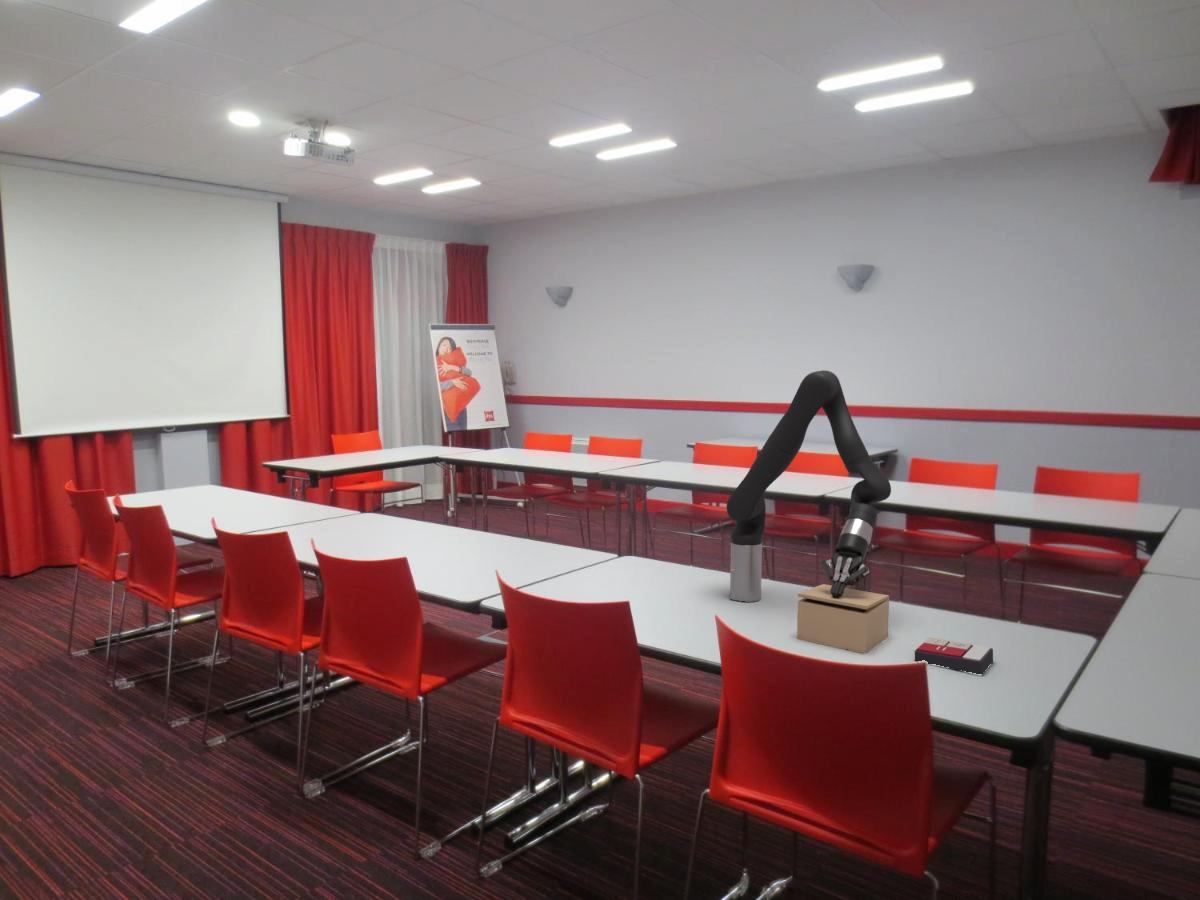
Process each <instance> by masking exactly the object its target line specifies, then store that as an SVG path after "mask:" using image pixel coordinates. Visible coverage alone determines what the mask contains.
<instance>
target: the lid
mask: <svg viewBox="0 0 1200 900" xmlns="http://www.w3.org/2000/svg"><path fill="white" fill-rule="evenodd" d="M831 587H832V584H831V585H830V584H824V583H822V584H820V585H817V586H814V587H812V588H809V589H806V590H803V591H801V592H799V593H797V597H799V598H802V599H803V598H808V599H814V600H819V601H824V602H829V603H835V604H840V605H845V606H851V607H856V608H861V609H866V610H867V609H869V608H871V607H873V606H875V605H877V604H879V603H881V602H883V601H885V600H887V599H889V600H890V595H888V594H881V593H876V592H870V591H866V590H859V589H854V588H848V587H845V589H844V592H843V595H842V596H841V597H840V598H834V597H833V596H832V594H831V592H830V590H831Z"/></svg>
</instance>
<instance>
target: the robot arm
mask: <svg viewBox="0 0 1200 900" xmlns="http://www.w3.org/2000/svg"><path fill="white" fill-rule="evenodd" d="M821 408H822V409H823V411H824V413H825V415H826V417H827V419H828V421H829V424H830V428H831V432H832V436H833V441H834V445H835V447H836V451H837V452H838V453H837V454H839V457H840V459H841V461H842V463H843V464H844V467H845V468H846V471H847V472H848V473H849V474H851V475H854V474H855V475H859V476H860V477H862V480H860V481H858V482H857V483H855V484H854V486H853V488H852V490H851V494H850V509H849V510H850V511H849V514H848V517H847V519H846V522H845V524H844V525H843V527H842V530H841V533H840V535H839V538H838V541H837V544H836V547H835V550H834V553H833V554H832V555H831V556H830V557H831V558H829V559H828V560H825V559H821V562H820V563H821V565H822V567H823V569H824V571H825V574H826V576H827V578H828V580H829V582H830V583H832V584H831V586H832V587H831V590H830V592H831V594H832V596H833V597H834V598H840V597H841V596H842V595H843V592H844V589H845V588H847V586H851V587H852V586H853V587H854V586H855V585H856V584H857V583H859V582H861V581H862V580H863V579H864V578H867V577H868V576H869V575H870V574H871V572H870V569H869V567H868V566H867V565H865V557H866V554H867V552H868V549H869V545H870V544H871V541H872V535H873V530H874V528H875V524H876V522H877V517H878V512H877V510H876V508H875V507H874V506H873V505H874V504H876V503H877V504H878V503H880V502H883V501H886V500H887V499H889V498H890V496H891V494H892V486H891V483H890V481H889V478H888V477H887V476H886V475H885V474H884V472H883V471H882V470H881V469H880V468H879V466H878V465H877V464H876V463H875V462H874V460H873V459H872V458H871V456H870V455H869V453H868V450H867V448H866V446H865V444H864V442H863V440H862V438H861V436H860V434H859V432H858V430H857V428H856V425H855V423H854V421H853V420H854V419H853V418H852V416H851V413H850V410H849V407H848V404H847V402H846V398H845V395H844V392H843V387H842V384H841V382H840V379H839V377H838V376H837V375H836V374H835V373H834V372H832V371H830V370H817V371H813V372H810V373H808V374H807V375H805V377H804V378H803V379H802V381H801V382H800V384H799V386H798V388H797V391H796V393H795V395H794V397H793V399H792V401H791V403H790V405H789V406H788V408H787V410H786V411H785V413H784V414H783V416H782V417H781V419H780V420H779V422H778V423H777V424H776V426H775V428H774V429H773V431H771V433H770V435H768V439H767V440H766V442H765V443H764V445H763V447H762V448H761V450H760V452H759V454H757V456H756V458H755V460H754V461H753V464H751V467H750V468H749V470H748V472H747V473H746V475H745V477H744V478H743V479H742V480H741V482H740V483H739V484H738V485H737V487H736V488H735V489H734V490H733V492H732V493H731V494H730V495H729V497H728V499H727V502H726V512H727V516H729V518H730V519H731V520H733V521H734V522H736V525H735V526H734V529H733V530H732V532H731V534H730V566H729V568H730V569H729V570H730V573H729V574H730V575H729V576H730V583H729V587H730V590H729V591H730V592H729V593H730V594H729V596H730V599H732V601H737V600H738V602H742V601H745V602H744V603H749V602H751V603H752V602H757V601H760V600H761V599H762V562H763V561H762V557H763V553H762V550H763V549H762V548H763V547H762V546H763V536H764V533H765V530H766V529H765V528H766V527H765V526H766V513H767V511H766V507H767V506H766V501H765V498H764V494H765V492H766V491H767V490H768V488H769V487H770V486H771V485H772V484H773V483H774V482H775V481H776V480H777V479H778V478H779V477H781V476H782V474H783V473H785V471H787V469H788V468H789V466H790V465H791V463H793V461H794V459H795V458H796V456H797V454H798V453H799V452H800V450H801V448H802V446H803V444H804V440H805V437H806V434H807V430H808V428H809V425H810V424H811V422H812V420H813V419H814V418H815V416H816V415H817V413H818V412H819V411H820V410H821ZM832 565H833V568H834V575H833V572H832V571H831V569H832Z"/></svg>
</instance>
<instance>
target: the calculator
mask: <svg viewBox="0 0 1200 900" xmlns="http://www.w3.org/2000/svg"><path fill="white" fill-rule="evenodd" d="M922 660H925V661H927V662H928V664H936V665H940V666H944V667H949V668H953V669H957V670H956V671H959V670H962V671H966V672H972V673H976V674H983V672H984V671H985V670H986V669H987V668H988V666H989V665H990V664H991V663H992V662H993V663H994V649H993V648H991V647H990V646H985V645H978V644H974V645H973V643H970V642H969V643H968V642H963V641H962V642H961V641H957V640H956V641H955V640H951V641H950V640H949V639H944V638H937V637H929V638H927V639H926V640H925V641H924V642H923V643H922V644H921V645H920V646H918V647H917V648H916V649H915V650H914V662H915V661H922ZM993 663H992V664H993ZM928 664H927V665H928ZM953 669H952V670H953ZM988 669H989V668H988ZM988 669H987V670H988ZM983 675H984V674H983Z"/></svg>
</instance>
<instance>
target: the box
mask: <svg viewBox="0 0 1200 900" xmlns="http://www.w3.org/2000/svg"><path fill="white" fill-rule="evenodd" d="M889 611H890V598H889V599H887V600H885V601H883V602H881V603H879V604H877V605H875V606H873V607H871V608H869V609H867V610H866V609H861V608H856V607H851V606H845V605H840V604H835V603H829V602H824V601H819V600H814V599H808V598H803V597H802V598H801V599H799V600H797V616H796V617H797V618H796V619H797V621H796V622H797V630H796V634H797V635H796V639H797V640H800V641H801V640H802V641H805V642H811V643H814V642H816V644H819V643H820V644H821V645H823V644H824V646H828V645H830V646H829V647H832V646H834V647H833V648H837V647H839V648H838V649H841V648H843V649H842V650H846V649H848V651H850V650H852V651H851V652H855V651H858V652H857V653H859V652H862V653H861V654H863V653H866V652H867V653H869V652H870V651H871V650H872V649H873V647H874V648H875V647H876V646H877V645H878V644H880V643H881V642H883V640H885V639H886V638H887V637H889V614H890V612H889ZM825 644H826V645H825ZM869 650H870V651H869ZM867 653H866V654H867Z"/></svg>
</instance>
